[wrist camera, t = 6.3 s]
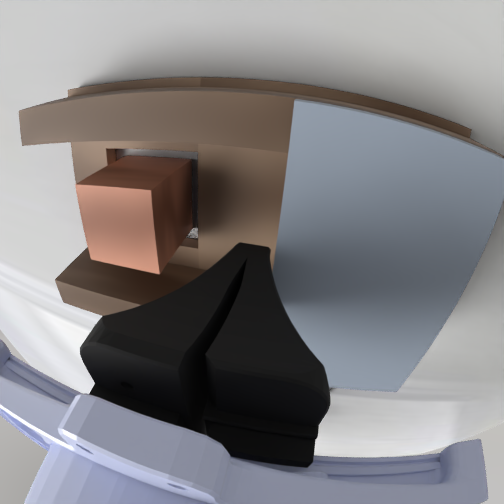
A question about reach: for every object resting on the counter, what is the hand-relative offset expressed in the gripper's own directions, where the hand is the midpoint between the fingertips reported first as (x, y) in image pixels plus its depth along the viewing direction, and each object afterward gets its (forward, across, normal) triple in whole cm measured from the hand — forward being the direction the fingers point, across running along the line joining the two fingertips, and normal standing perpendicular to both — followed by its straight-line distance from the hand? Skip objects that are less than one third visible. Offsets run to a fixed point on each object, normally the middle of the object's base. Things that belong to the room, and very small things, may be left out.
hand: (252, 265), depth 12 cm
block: (+6, +7, 0) cm, 9 cm away
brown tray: (+6, +2, 0) cm, 6 cm away
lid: (0, -5, 0) cm, 5 cm away
